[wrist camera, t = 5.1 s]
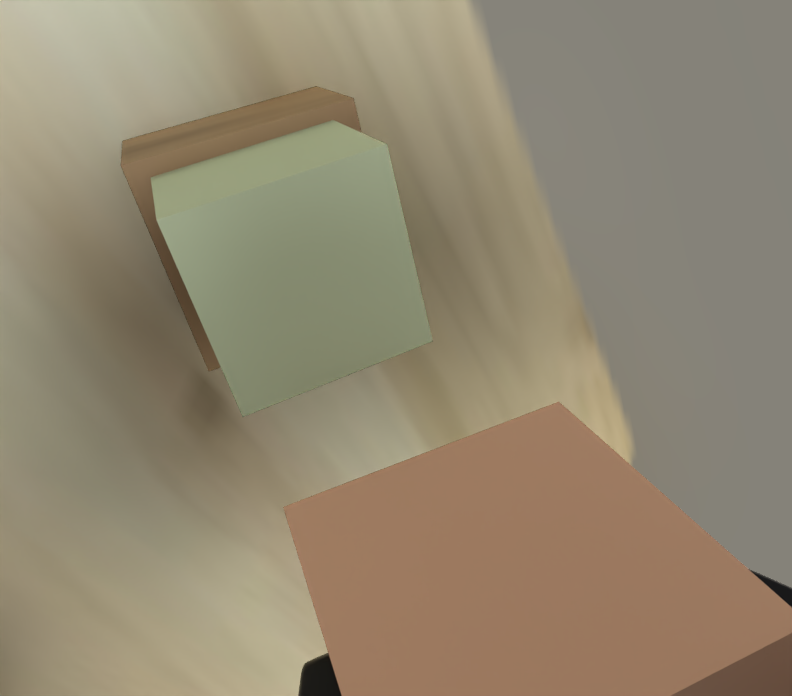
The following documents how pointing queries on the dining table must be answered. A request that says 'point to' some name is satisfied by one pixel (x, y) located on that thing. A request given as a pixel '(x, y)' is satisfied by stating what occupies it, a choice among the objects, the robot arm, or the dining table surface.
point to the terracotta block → (532, 577)
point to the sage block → (295, 260)
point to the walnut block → (214, 140)
